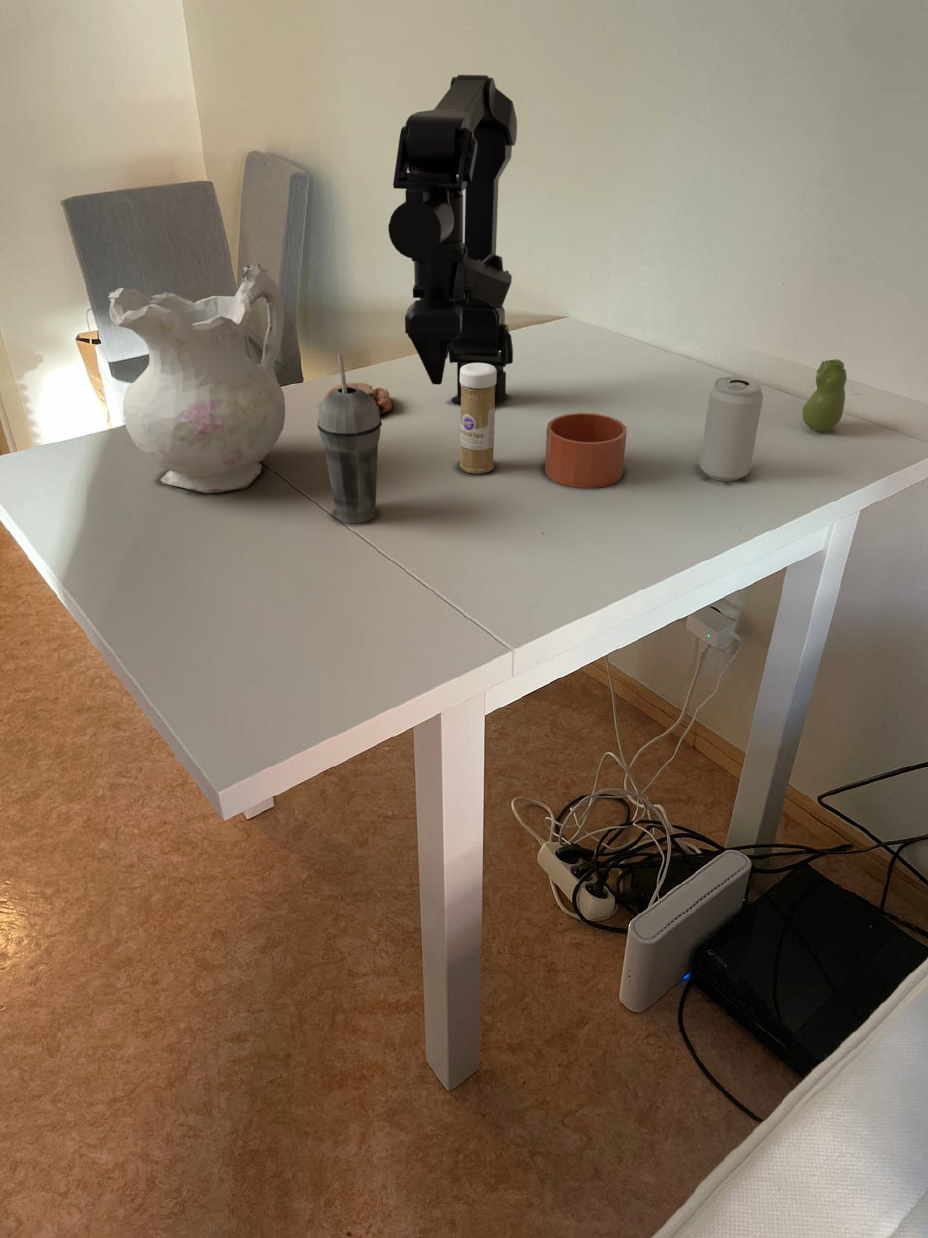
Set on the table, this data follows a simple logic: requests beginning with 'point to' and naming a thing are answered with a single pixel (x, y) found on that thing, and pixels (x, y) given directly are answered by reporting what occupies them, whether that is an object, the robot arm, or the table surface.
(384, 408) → the cookie
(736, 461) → the beverage can
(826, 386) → the pear
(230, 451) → the ceramic pitcher
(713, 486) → the table surface
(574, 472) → the bowl
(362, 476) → the beverage cup
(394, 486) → the table surface
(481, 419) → the sprinkles bottle
